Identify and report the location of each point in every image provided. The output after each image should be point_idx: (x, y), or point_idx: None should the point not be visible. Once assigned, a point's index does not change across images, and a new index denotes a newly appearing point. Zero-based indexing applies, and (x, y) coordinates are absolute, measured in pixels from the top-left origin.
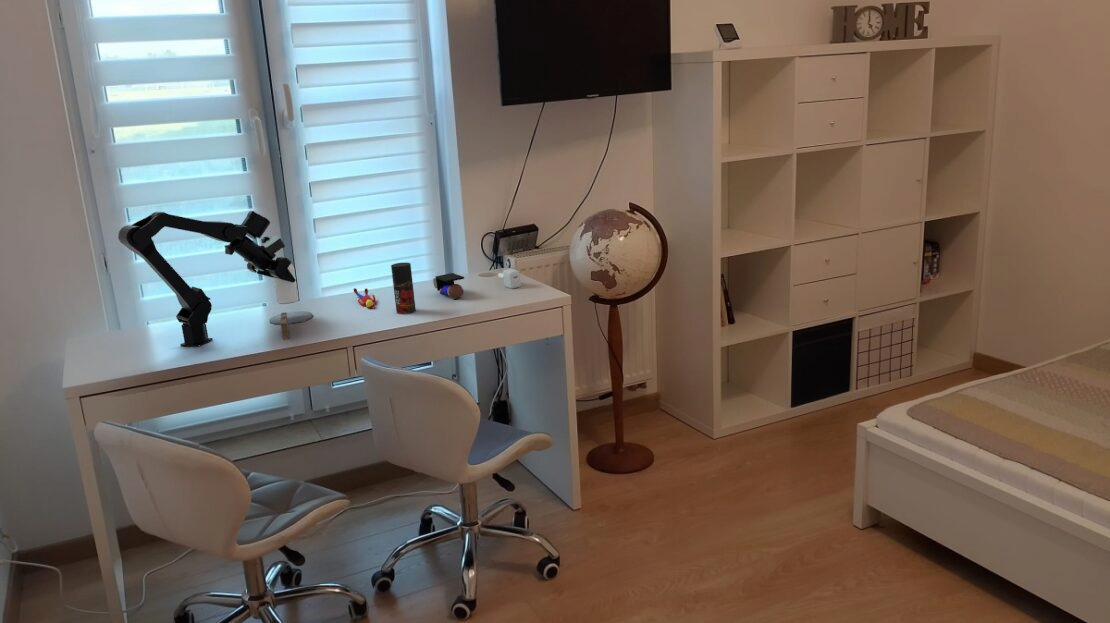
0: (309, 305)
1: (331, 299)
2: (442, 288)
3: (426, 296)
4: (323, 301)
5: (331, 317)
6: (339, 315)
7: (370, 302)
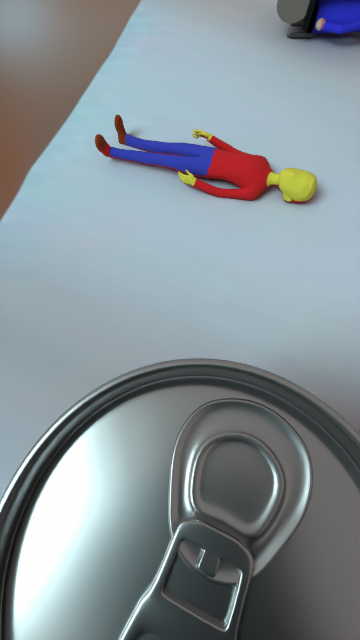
0: (49, 305)
1: (50, 220)
2: (318, 16)
3: (291, 64)
4: (47, 248)
5: (315, 334)
6: (308, 301)
7: (316, 180)
